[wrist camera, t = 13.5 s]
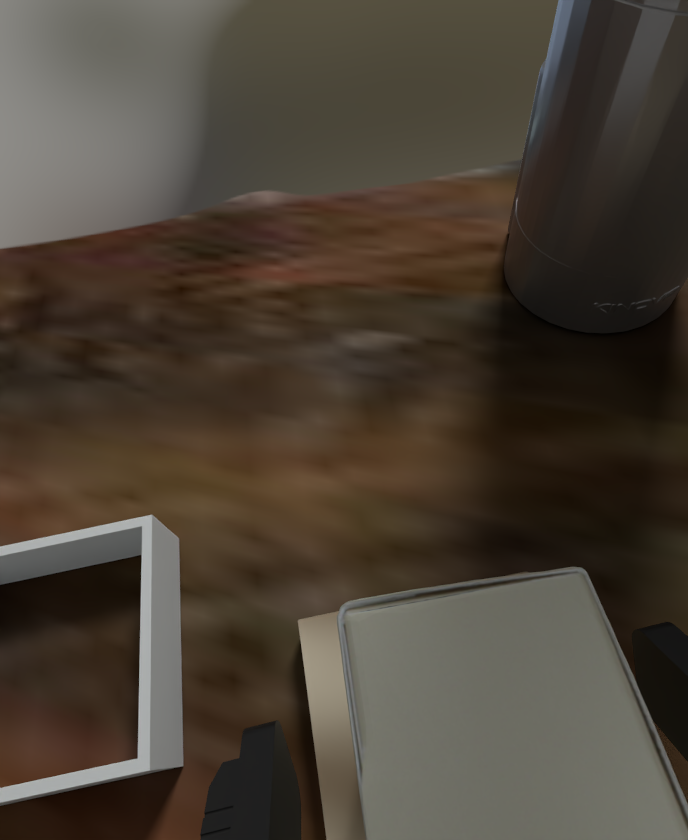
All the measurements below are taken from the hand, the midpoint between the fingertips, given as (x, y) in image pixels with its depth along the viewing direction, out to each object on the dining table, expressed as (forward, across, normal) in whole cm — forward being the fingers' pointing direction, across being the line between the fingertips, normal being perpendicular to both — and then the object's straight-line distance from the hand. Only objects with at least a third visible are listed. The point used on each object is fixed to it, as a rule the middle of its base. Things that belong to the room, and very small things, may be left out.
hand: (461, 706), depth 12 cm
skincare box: (+4, 0, +7) cm, 8 cm away
